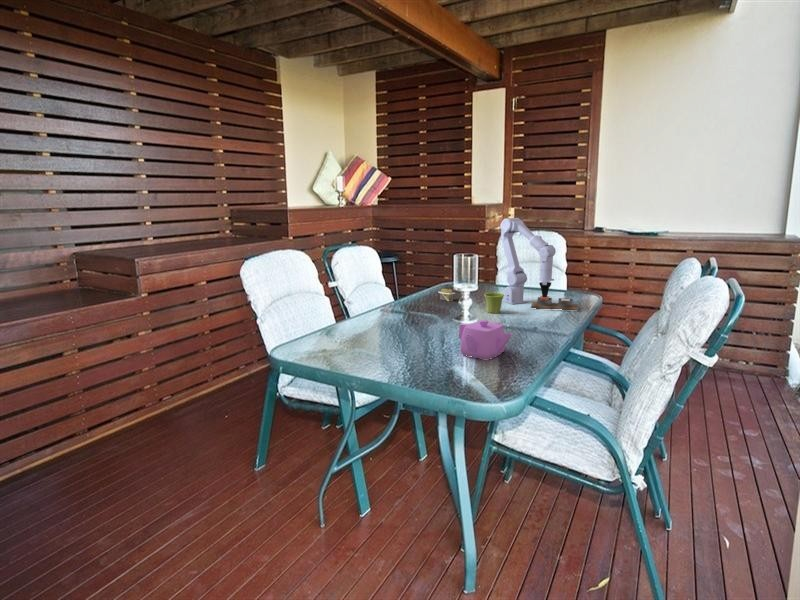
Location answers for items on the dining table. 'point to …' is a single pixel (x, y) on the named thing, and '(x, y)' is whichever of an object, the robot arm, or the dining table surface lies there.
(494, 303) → the plant pot
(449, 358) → the dining table surface
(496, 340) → the teakettle
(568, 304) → the block
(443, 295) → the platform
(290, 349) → the dining table surface
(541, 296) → the red button
